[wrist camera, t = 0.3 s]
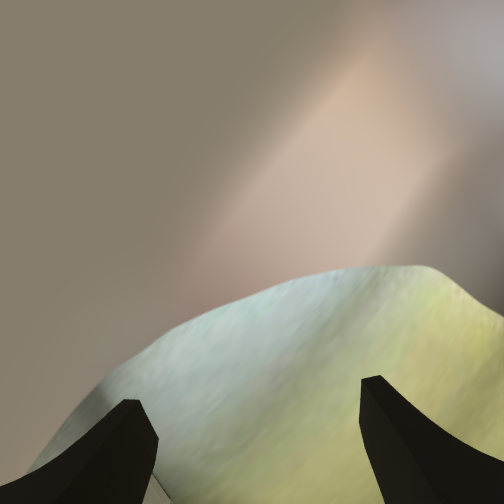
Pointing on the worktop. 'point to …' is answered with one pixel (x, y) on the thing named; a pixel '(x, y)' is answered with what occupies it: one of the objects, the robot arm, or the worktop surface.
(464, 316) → the worktop surface
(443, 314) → the worktop surface
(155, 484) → the skincare box
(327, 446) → the worktop surface
